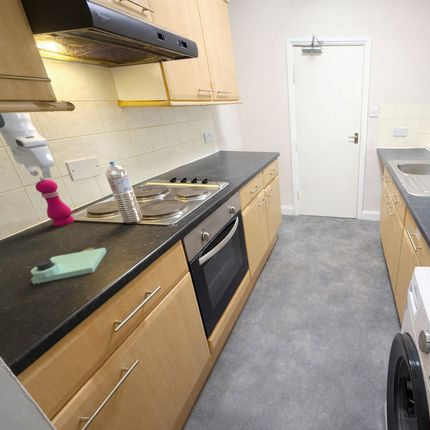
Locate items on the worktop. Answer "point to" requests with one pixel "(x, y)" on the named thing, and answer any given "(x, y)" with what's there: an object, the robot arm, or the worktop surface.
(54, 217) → the pepper mill
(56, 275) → the scale
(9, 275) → the worktop surface
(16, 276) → the worktop surface
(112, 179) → the water bottle
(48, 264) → the tare button
